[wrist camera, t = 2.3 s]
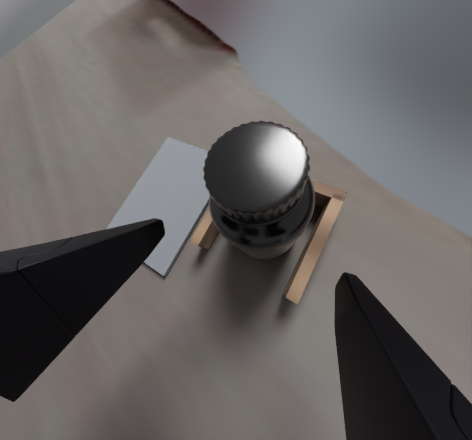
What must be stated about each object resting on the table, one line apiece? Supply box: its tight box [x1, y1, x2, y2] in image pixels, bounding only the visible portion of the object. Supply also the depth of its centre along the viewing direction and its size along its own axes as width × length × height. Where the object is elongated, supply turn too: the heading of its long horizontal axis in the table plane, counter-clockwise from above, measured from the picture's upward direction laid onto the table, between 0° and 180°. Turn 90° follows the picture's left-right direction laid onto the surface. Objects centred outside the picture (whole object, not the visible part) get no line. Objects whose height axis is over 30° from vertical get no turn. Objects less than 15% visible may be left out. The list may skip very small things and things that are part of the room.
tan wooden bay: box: [190, 180, 348, 304], centre depth 17 cm, size 10×11×3 cm
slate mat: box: [106, 137, 210, 276], centre depth 22 cm, size 16×11×1 cm
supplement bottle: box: [203, 121, 315, 259], centre depth 13 cm, size 7×7×12 cm
